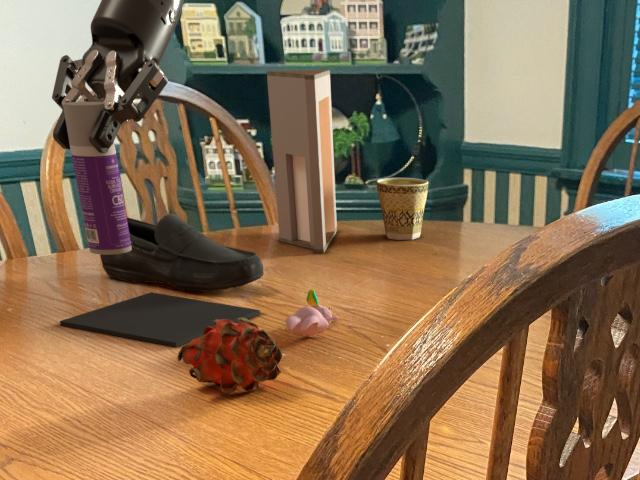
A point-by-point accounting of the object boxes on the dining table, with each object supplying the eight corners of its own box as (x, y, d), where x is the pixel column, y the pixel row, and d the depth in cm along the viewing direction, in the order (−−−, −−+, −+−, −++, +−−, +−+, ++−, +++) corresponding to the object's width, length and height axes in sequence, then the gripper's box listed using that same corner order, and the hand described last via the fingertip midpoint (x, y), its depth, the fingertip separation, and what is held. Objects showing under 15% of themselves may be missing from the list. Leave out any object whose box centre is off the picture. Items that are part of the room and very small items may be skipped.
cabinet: (323, 253, 164) (314, 75, 149) (270, 252, 164) (255, 73, 149) (337, 231, 182) (329, 69, 167) (289, 230, 182) (277, 68, 167)
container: (129, 254, 103) (104, 105, 95) (86, 255, 103) (57, 104, 94) (134, 245, 107) (110, 101, 99) (93, 246, 106) (66, 101, 98)
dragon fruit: (292, 407, 103) (193, 416, 105) (298, 345, 106) (201, 355, 108) (265, 362, 95) (159, 372, 97) (272, 296, 98) (169, 308, 100)
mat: (60, 325, 123) (59, 320, 123) (151, 296, 137) (151, 292, 136) (176, 347, 116) (175, 342, 115) (260, 314, 130) (259, 309, 129)
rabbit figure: (301, 329, 128) (272, 342, 114) (300, 284, 126) (270, 293, 112) (345, 331, 128) (321, 345, 114) (344, 286, 125) (319, 295, 112)
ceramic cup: (408, 244, 172) (408, 186, 167) (367, 237, 177) (365, 181, 171) (446, 233, 182) (447, 179, 176) (405, 227, 186) (405, 174, 181)
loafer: (246, 301, 135) (239, 228, 130) (83, 282, 143) (70, 213, 137) (279, 285, 144) (273, 216, 138) (123, 268, 151) (112, 203, 146)
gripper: (68, -17, 99) (5, 116, 97) (170, -16, 94) (106, 124, 91) (112, 40, 106) (54, 165, 103) (209, 44, 101) (151, 175, 98)
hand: (79, 145), depth 97 cm, fingers closed on container, 4 cm apart
